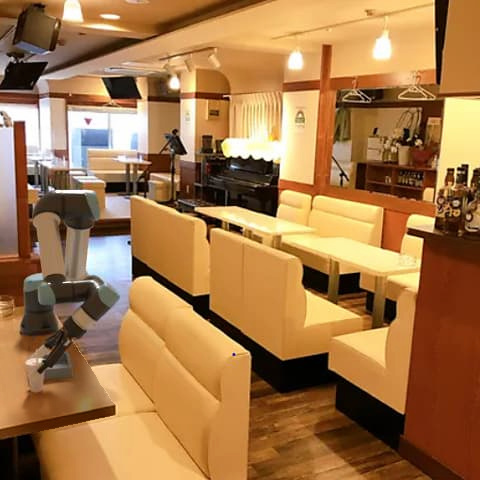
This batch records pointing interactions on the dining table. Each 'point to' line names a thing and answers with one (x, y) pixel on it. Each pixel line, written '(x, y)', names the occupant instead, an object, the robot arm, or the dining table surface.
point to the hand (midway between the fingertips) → (31, 370)
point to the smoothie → (31, 365)
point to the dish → (59, 367)
